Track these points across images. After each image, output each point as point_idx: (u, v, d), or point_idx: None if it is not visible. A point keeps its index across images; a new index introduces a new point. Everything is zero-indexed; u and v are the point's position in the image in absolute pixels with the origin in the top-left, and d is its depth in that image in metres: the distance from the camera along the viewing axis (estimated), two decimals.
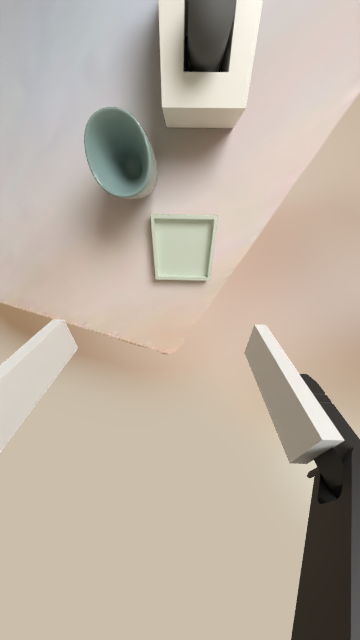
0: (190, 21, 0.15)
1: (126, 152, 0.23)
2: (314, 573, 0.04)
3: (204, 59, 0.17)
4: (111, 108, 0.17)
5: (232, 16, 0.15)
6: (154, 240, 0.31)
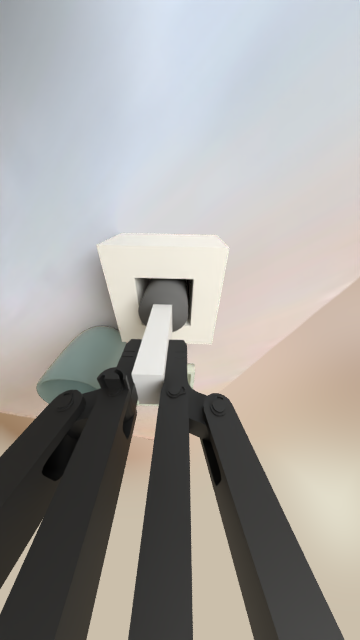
0: (142, 320, 0.14)
1: None
2: None
3: None
4: (61, 379, 0.16)
5: (185, 320, 0.14)
6: None
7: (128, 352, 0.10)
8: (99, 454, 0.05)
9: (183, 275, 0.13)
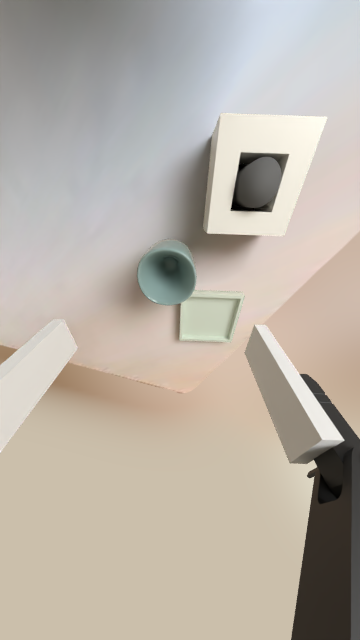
0: (240, 192, 0.18)
1: (167, 257, 0.24)
2: (314, 573, 0.04)
3: None
4: (166, 250, 0.19)
5: (276, 191, 0.18)
6: (182, 312, 0.33)
7: None
8: None
9: (282, 149, 0.16)
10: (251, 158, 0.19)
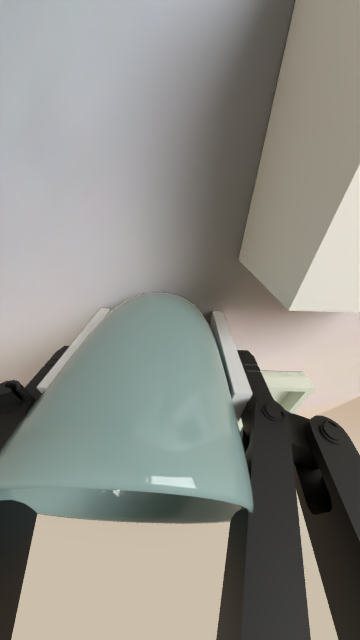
0: None
1: None
2: (235, 516, 0.05)
3: None
4: (96, 488, 0.03)
5: None
6: None
7: (54, 361, 0.09)
8: None
9: None
10: None
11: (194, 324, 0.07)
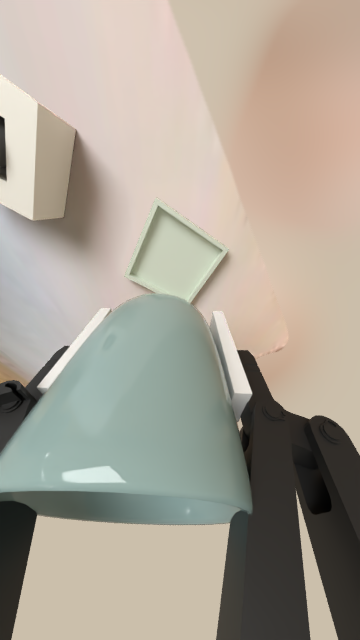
0: None
1: None
2: (235, 516, 0.05)
3: None
4: (96, 491, 0.03)
5: None
6: (148, 286, 0.28)
7: (55, 361, 0.09)
8: None
9: None
10: None
11: (194, 325, 0.07)
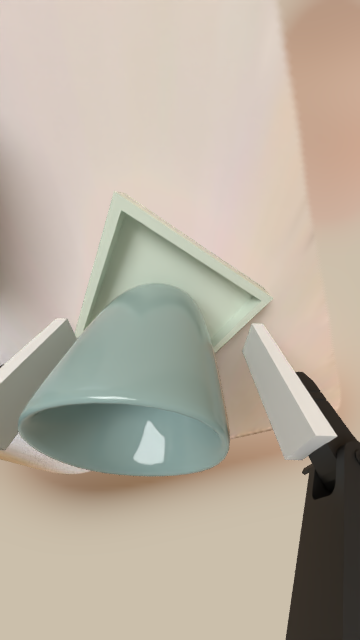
0: None
1: None
2: (308, 568, 0.04)
3: None
4: (109, 403, 0.04)
5: None
6: None
7: None
8: None
9: None
10: None
11: (186, 307, 0.09)
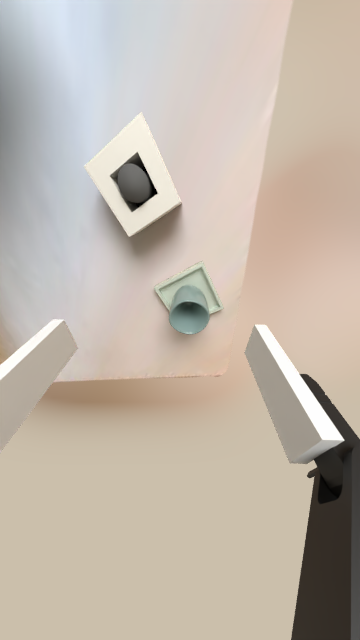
0: None
1: None
2: (314, 573, 0.04)
3: (142, 201, 0.25)
4: (200, 304, 0.29)
5: (145, 179, 0.22)
6: (165, 302, 0.39)
7: None
8: None
9: (130, 153, 0.21)
10: None
11: (205, 298, 0.34)
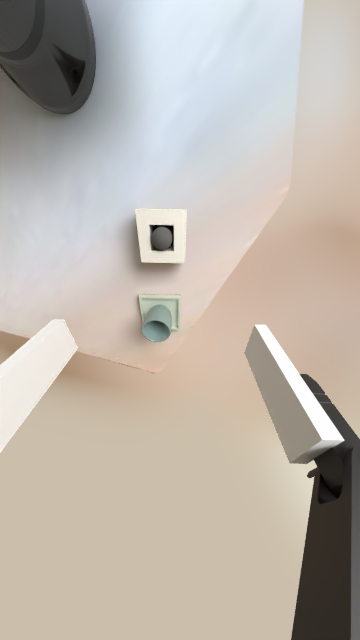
0: None
1: None
2: (314, 573, 0.04)
3: None
4: (167, 326, 0.42)
5: (170, 242, 0.34)
6: (141, 308, 0.49)
7: None
8: None
9: (169, 223, 0.32)
10: None
11: None
